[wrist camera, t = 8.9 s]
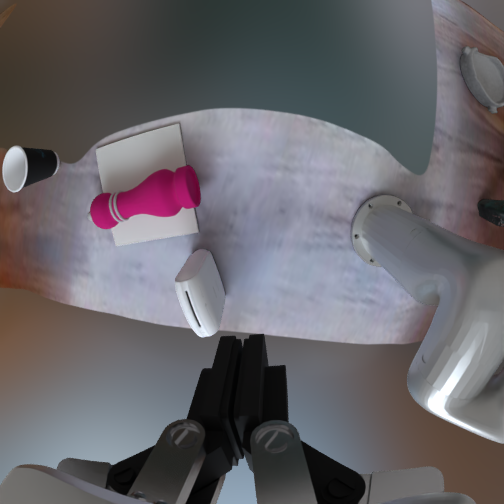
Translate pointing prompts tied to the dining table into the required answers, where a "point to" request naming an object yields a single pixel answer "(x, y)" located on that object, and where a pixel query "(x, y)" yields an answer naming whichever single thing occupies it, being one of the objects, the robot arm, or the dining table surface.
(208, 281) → the photo printer
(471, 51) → the dish
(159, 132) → the mat
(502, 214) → the ceramic cat
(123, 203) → the pepper mill
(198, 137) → the dining table surface
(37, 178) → the dixie cup
